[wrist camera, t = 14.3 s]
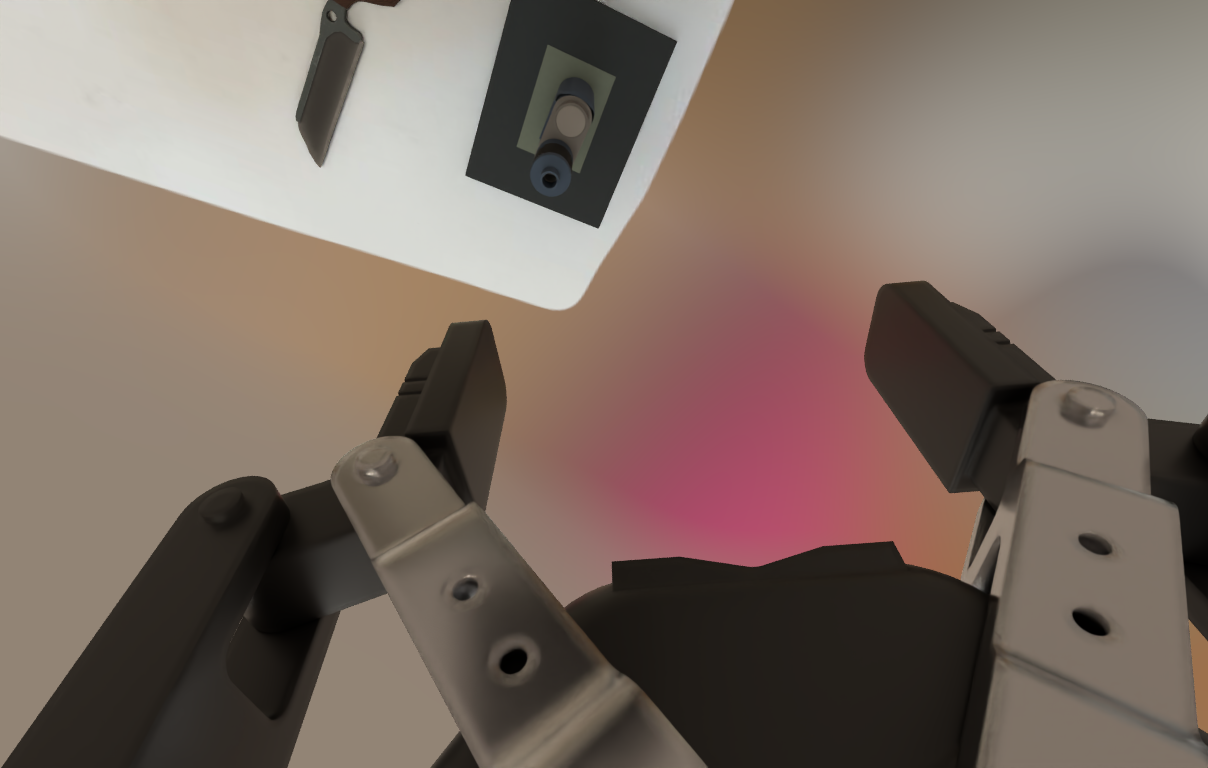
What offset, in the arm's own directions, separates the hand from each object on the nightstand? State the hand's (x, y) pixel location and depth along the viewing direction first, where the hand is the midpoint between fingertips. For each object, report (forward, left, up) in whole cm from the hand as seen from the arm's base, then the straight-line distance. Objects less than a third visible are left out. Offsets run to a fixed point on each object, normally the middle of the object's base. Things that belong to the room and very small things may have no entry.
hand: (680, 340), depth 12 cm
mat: (+1, -4, -34) cm, 34 cm away
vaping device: (+1, -4, -34) cm, 34 cm away
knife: (-3, -19, -34) cm, 39 cm away
